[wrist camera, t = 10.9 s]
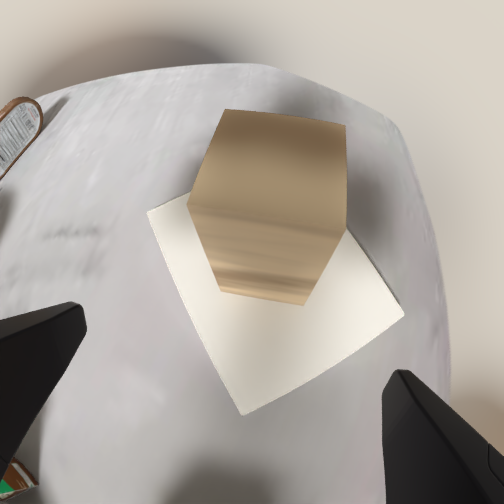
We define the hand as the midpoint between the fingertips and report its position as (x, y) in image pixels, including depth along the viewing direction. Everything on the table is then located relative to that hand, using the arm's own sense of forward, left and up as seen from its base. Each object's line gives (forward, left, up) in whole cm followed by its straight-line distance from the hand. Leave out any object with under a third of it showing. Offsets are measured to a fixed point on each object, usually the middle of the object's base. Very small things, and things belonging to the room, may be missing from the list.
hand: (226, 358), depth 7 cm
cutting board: (+6, -5, -14) cm, 16 cm away
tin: (+40, +19, -14) cm, 47 cm away
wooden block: (+6, -5, -12) cm, 15 cm away
